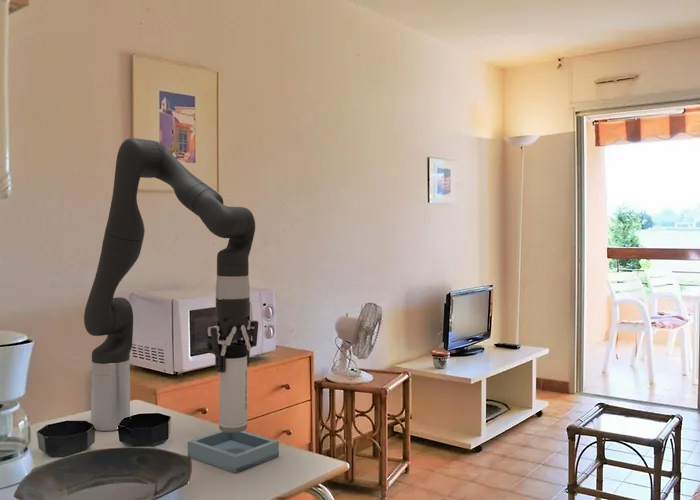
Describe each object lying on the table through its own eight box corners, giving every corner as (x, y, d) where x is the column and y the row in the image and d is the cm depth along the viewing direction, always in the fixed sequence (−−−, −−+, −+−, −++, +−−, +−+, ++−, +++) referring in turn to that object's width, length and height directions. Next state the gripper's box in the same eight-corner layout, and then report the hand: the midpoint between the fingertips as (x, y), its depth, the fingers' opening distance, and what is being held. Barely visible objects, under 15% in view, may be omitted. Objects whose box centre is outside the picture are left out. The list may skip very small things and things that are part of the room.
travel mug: (212, 428, 148) (212, 341, 147) (237, 422, 152) (237, 337, 151) (227, 435, 143) (227, 345, 142) (252, 429, 148) (252, 341, 147)
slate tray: (187, 456, 148) (187, 441, 148) (231, 441, 158) (231, 427, 158) (235, 473, 138) (235, 457, 138) (278, 456, 148) (278, 441, 148)
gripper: (244, 291, 155) (244, 361, 155) (196, 297, 143) (196, 372, 144) (267, 294, 150) (267, 366, 151) (219, 299, 139) (219, 377, 139)
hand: (232, 369), depth 147 cm, fingers closed on travel mug, 6 cm apart
